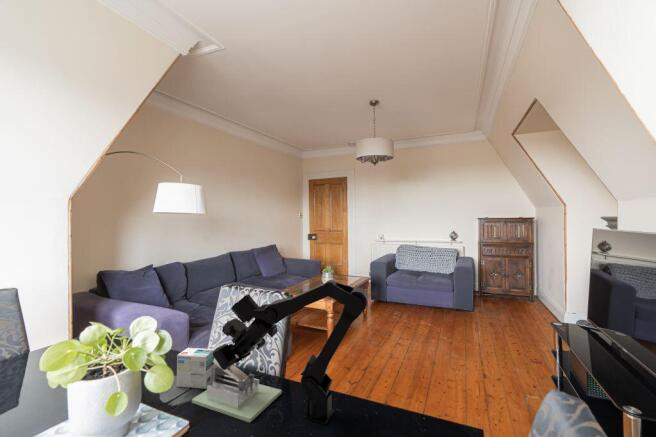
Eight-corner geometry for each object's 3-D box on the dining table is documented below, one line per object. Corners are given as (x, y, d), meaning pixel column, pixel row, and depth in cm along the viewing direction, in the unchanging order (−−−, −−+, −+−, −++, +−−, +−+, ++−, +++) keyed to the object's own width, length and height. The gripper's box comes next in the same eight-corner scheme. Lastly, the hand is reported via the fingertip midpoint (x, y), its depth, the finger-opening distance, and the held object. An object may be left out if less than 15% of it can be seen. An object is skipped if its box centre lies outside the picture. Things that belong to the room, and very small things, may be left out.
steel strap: (250, 383, 92) (252, 378, 92) (244, 388, 90) (246, 383, 89) (219, 359, 98) (221, 354, 98) (212, 362, 95) (214, 357, 95)
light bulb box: (215, 379, 105) (216, 348, 105) (206, 389, 98) (206, 356, 99) (186, 377, 106) (187, 346, 106) (175, 387, 99) (176, 354, 100)
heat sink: (258, 391, 95) (259, 366, 96) (237, 409, 86) (238, 380, 86) (226, 382, 101) (226, 358, 101) (203, 398, 92) (203, 371, 92)
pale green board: (281, 393, 97) (281, 390, 97) (249, 422, 82) (250, 418, 82) (228, 378, 105) (228, 375, 105) (191, 402, 91) (191, 399, 91)
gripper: (258, 305, 102) (232, 333, 106) (218, 320, 85) (189, 353, 89) (277, 331, 98) (250, 359, 102) (239, 353, 81) (208, 386, 85)
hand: (226, 363), depth 95 cm, fingers closed, pressing on steel strap
